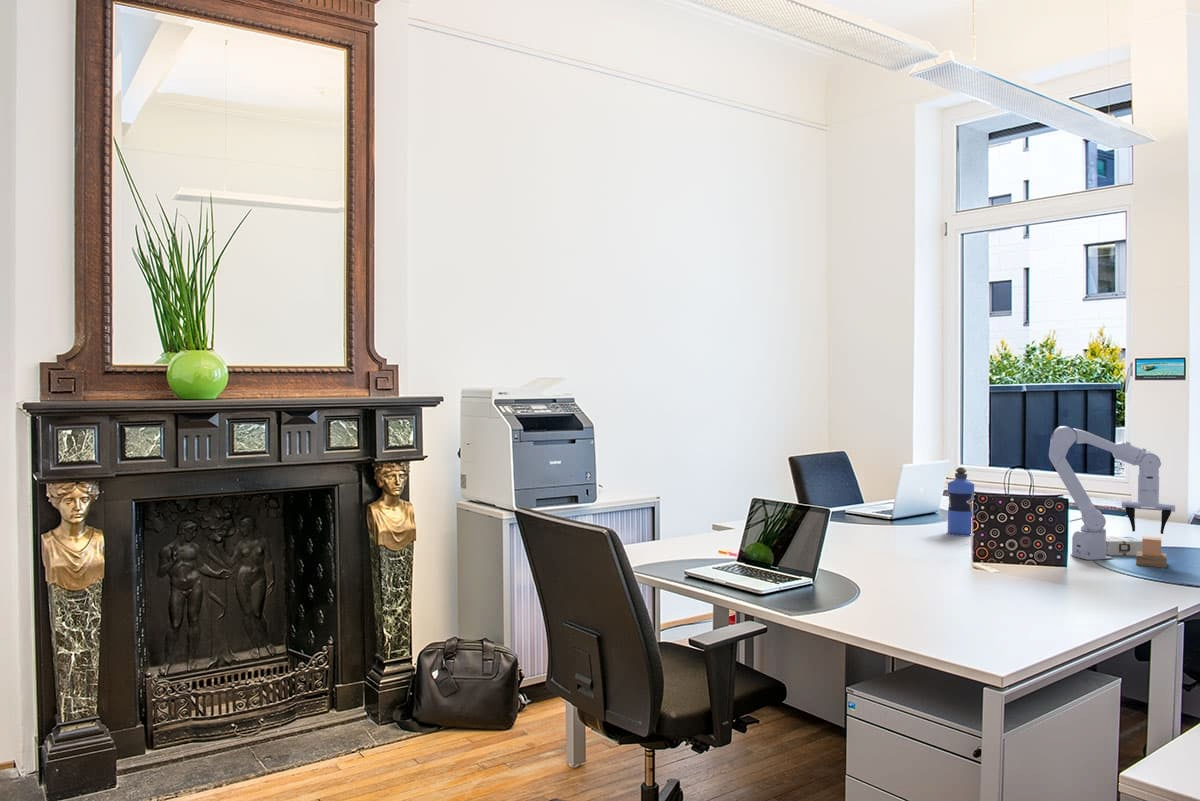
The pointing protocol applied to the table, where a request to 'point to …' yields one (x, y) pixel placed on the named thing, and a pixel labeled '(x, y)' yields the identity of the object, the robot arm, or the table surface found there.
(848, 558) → the table surface
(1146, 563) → the walnut slab
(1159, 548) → the terracotta cube
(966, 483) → the water bottle
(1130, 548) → the ink box
